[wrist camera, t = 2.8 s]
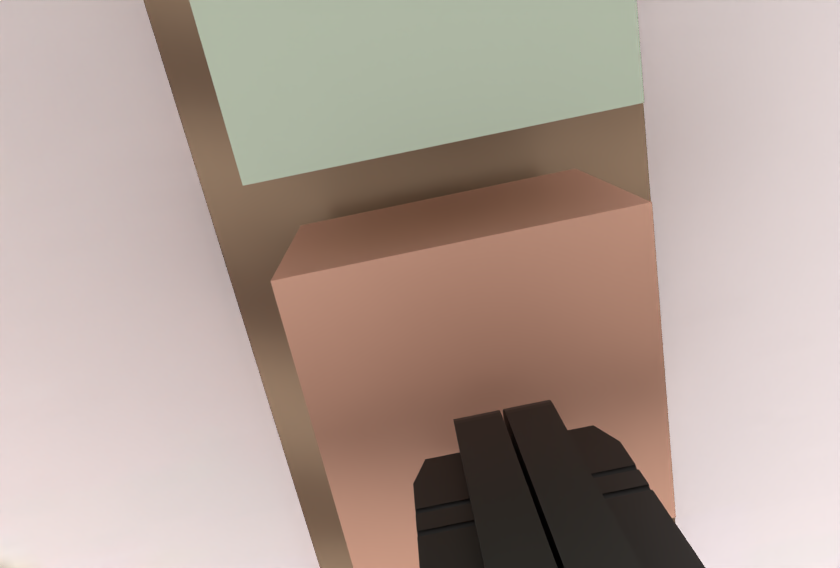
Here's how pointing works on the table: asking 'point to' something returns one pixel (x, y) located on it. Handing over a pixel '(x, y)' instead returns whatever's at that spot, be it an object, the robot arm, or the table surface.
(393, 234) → the button terracotta
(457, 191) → the board
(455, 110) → the button sage
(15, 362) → the table surface
